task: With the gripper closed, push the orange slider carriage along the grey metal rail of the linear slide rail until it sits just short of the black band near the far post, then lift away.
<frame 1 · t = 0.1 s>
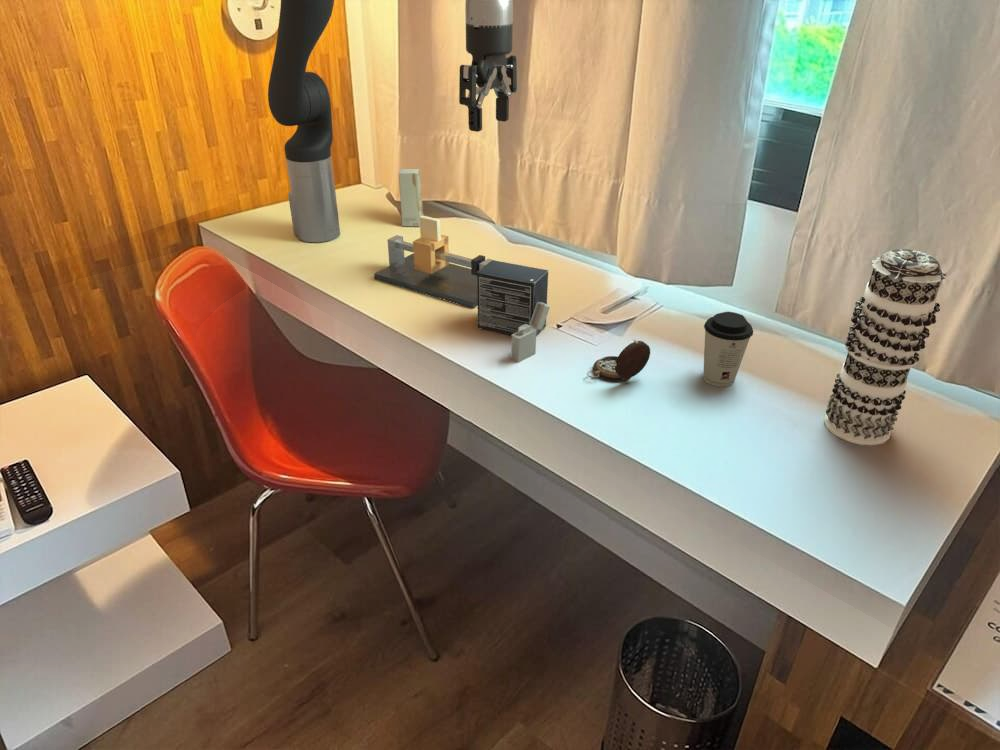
hand: (489, 125, 123), 29 cm above the table, tool pointing down, fingers open, 8 cm apart
compass: (611, 377, 110), on the table
small box: (512, 328, 124), on the table
decorative candle: (856, 428, 99), on the table
coffee cup: (718, 379, 110), on the table
orange slider carriage: (430, 242, 136), point 8 cm above the table, slide at 0.0 cm
skincare box: (413, 223, 167), on the table
linear slide rail: (441, 281, 139), on the table
lighter: (529, 353, 116), on the table
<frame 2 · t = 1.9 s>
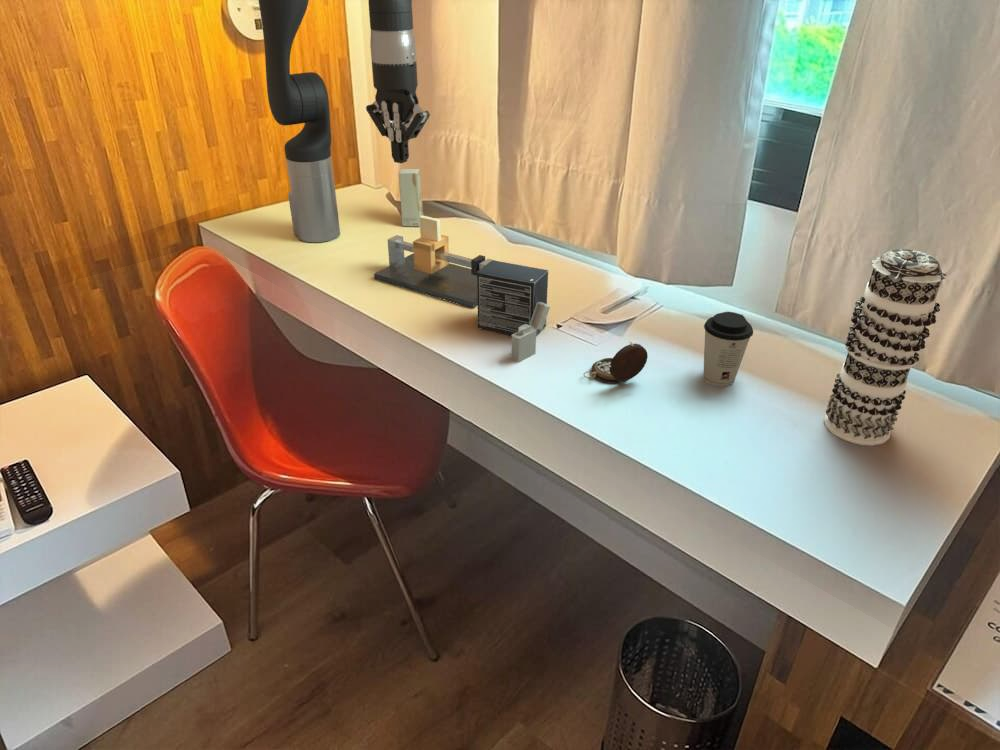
hand: (400, 161, 131), 22 cm above the table, tool pointing down, fingers closed
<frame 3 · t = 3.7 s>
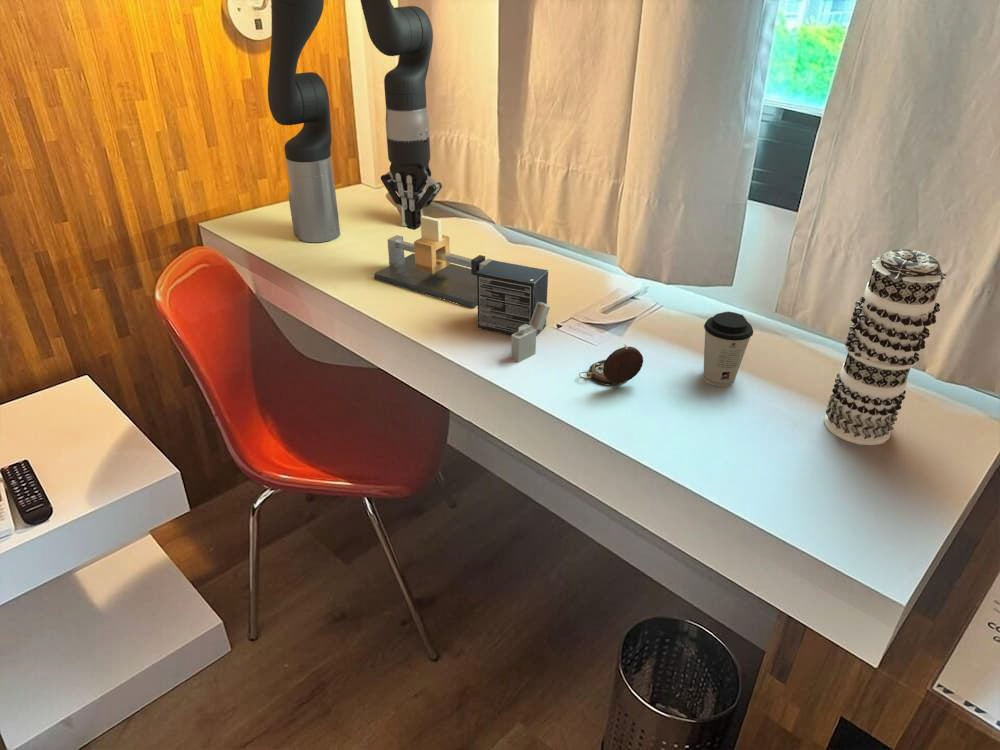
hand: (413, 228, 136), 10 cm above the table, tool pointing down, fingers closed
orange slider carriage: (431, 243, 135), point 8 cm above the table, slide at 0.2 cm, touching gripper
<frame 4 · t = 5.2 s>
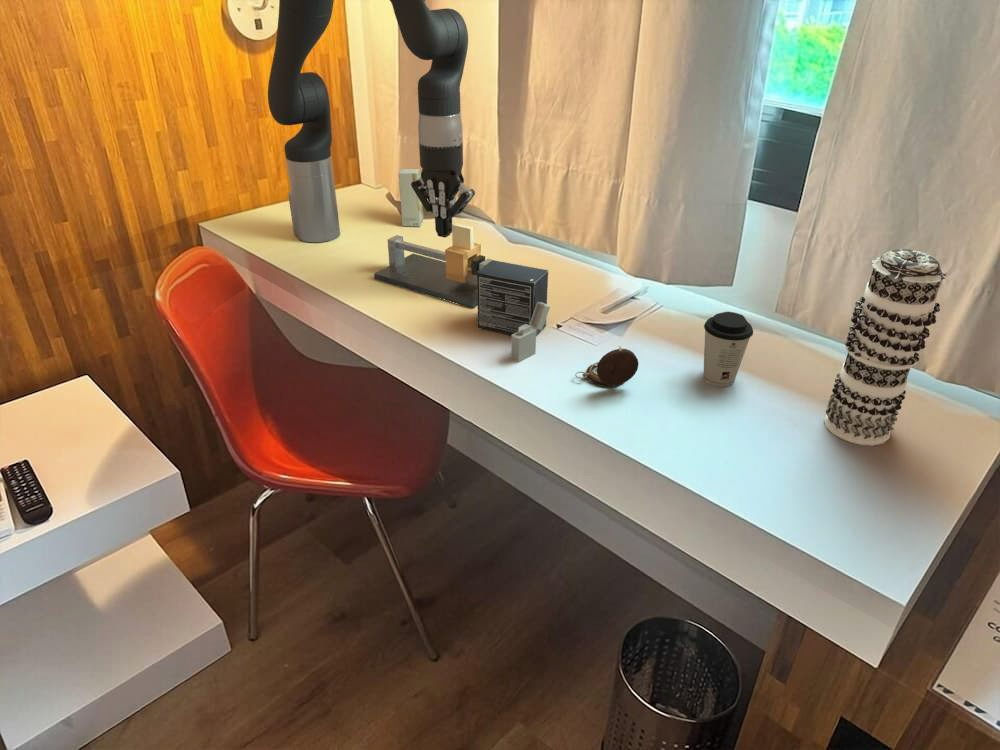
hand: (444, 235, 133), 10 cm above the table, tool pointing down, fingers closed
orange slider carriage: (463, 251, 132), point 8 cm above the table, slide at 7.4 cm, touching gripper
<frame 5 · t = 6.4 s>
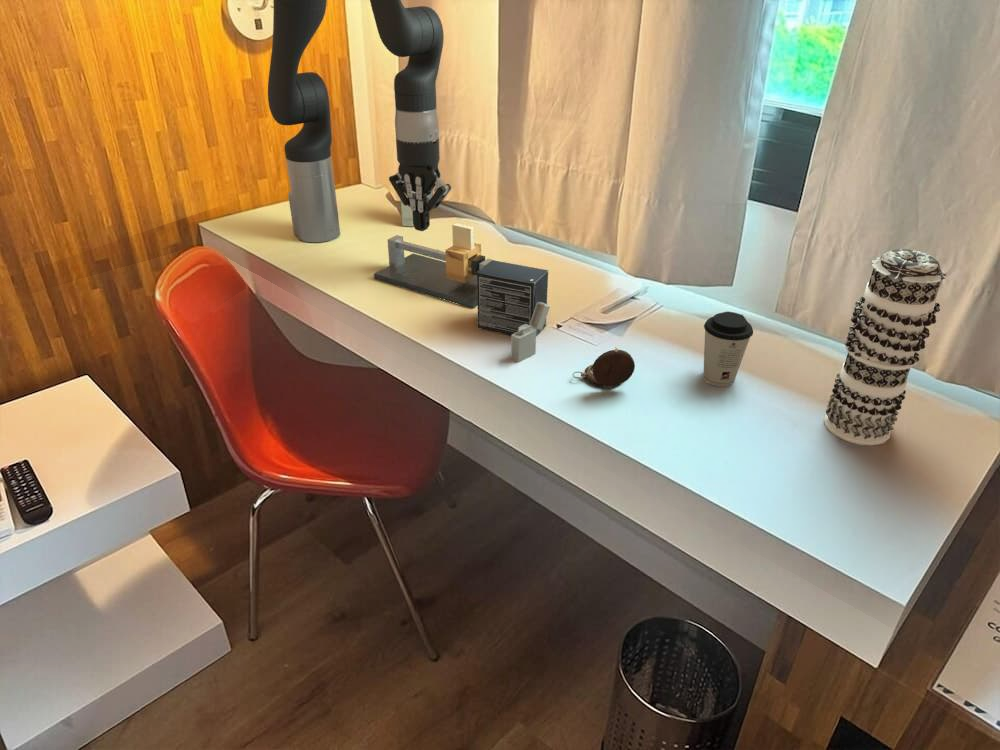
hand: (421, 229, 135), 10 cm above the table, tool pointing down, fingers closed
orange slider carriage: (463, 251, 132), point 8 cm above the table, slide at 7.4 cm
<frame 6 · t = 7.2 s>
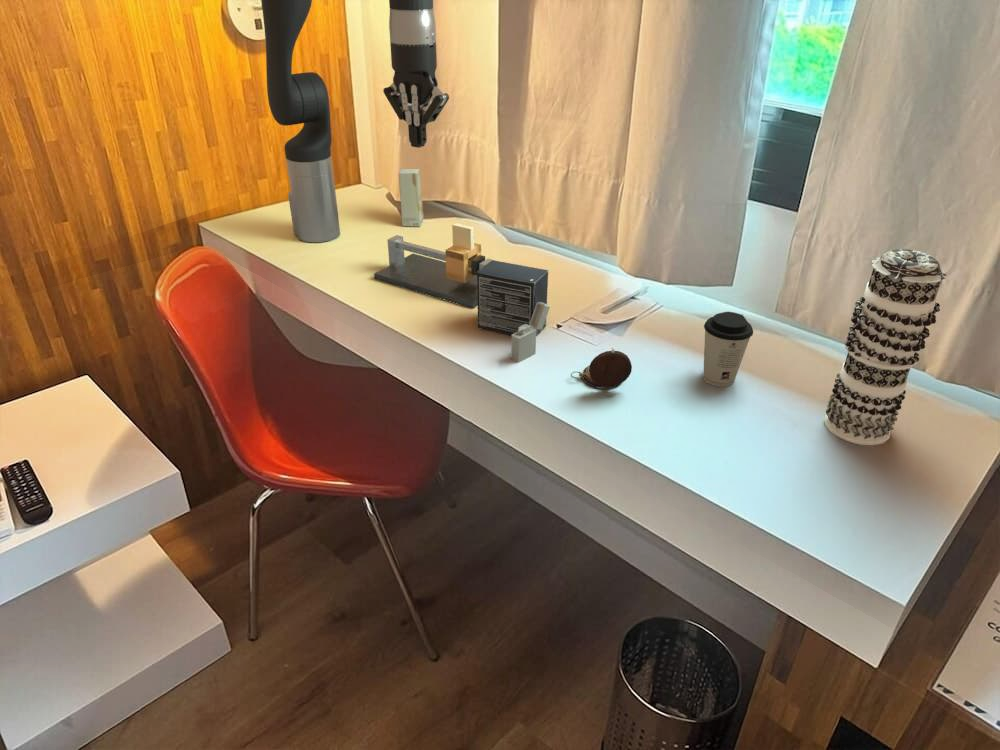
hand: (418, 146, 128), 25 cm above the table, tool pointing down, fingers closed
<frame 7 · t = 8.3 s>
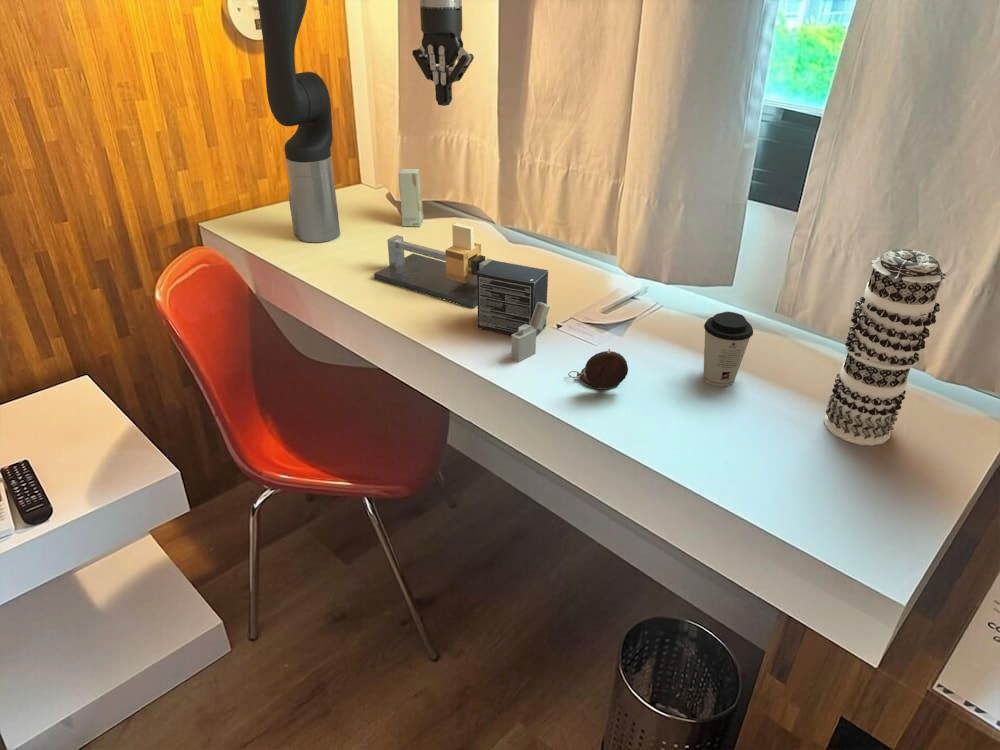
hand: (444, 104, 138), 29 cm above the table, tool pointing down, fingers closed
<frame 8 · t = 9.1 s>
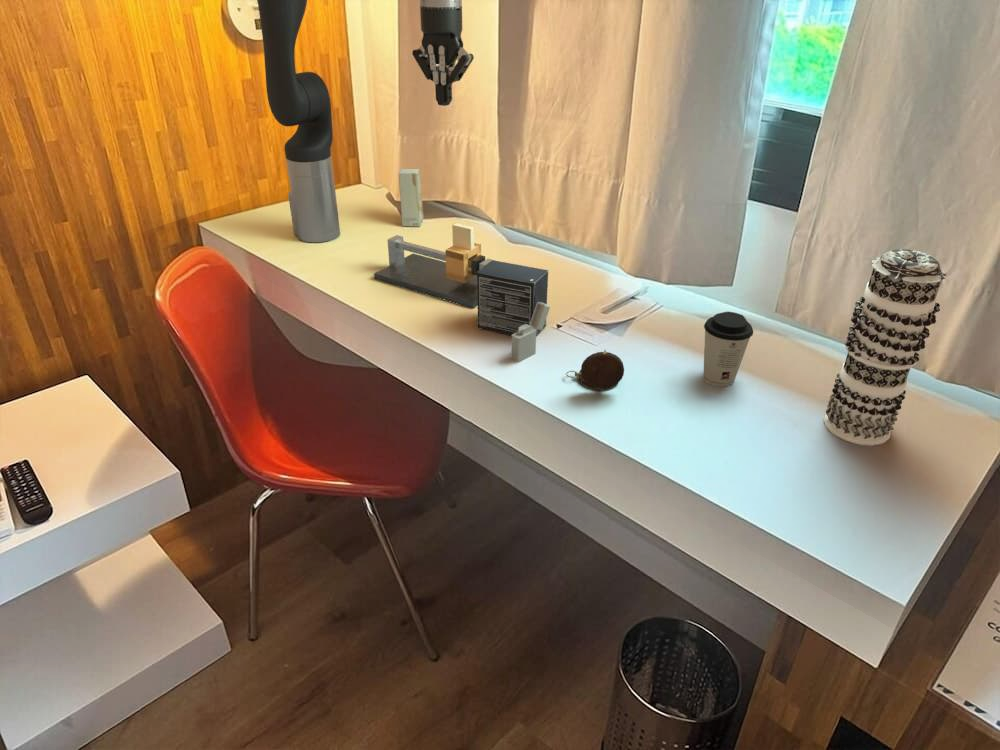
hand: (444, 104, 138), 29 cm above the table, tool pointing down, fingers closed
at the end: orange slider carriage slide at 7.4 cm; orange slider carriage touching nothing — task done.
